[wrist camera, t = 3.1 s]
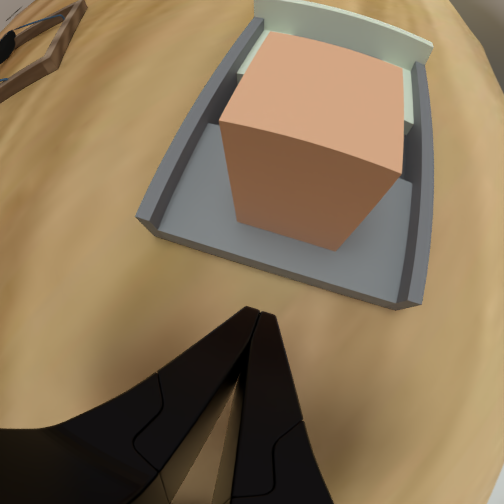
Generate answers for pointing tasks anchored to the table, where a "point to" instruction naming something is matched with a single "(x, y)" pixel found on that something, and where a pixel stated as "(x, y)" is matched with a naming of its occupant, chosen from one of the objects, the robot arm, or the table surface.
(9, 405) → the table surface
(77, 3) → the walnut glasses tray
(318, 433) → the table surface
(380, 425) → the table surface
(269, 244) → the box
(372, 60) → the terracotta block
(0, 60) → the sunglasses
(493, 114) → the table surface
